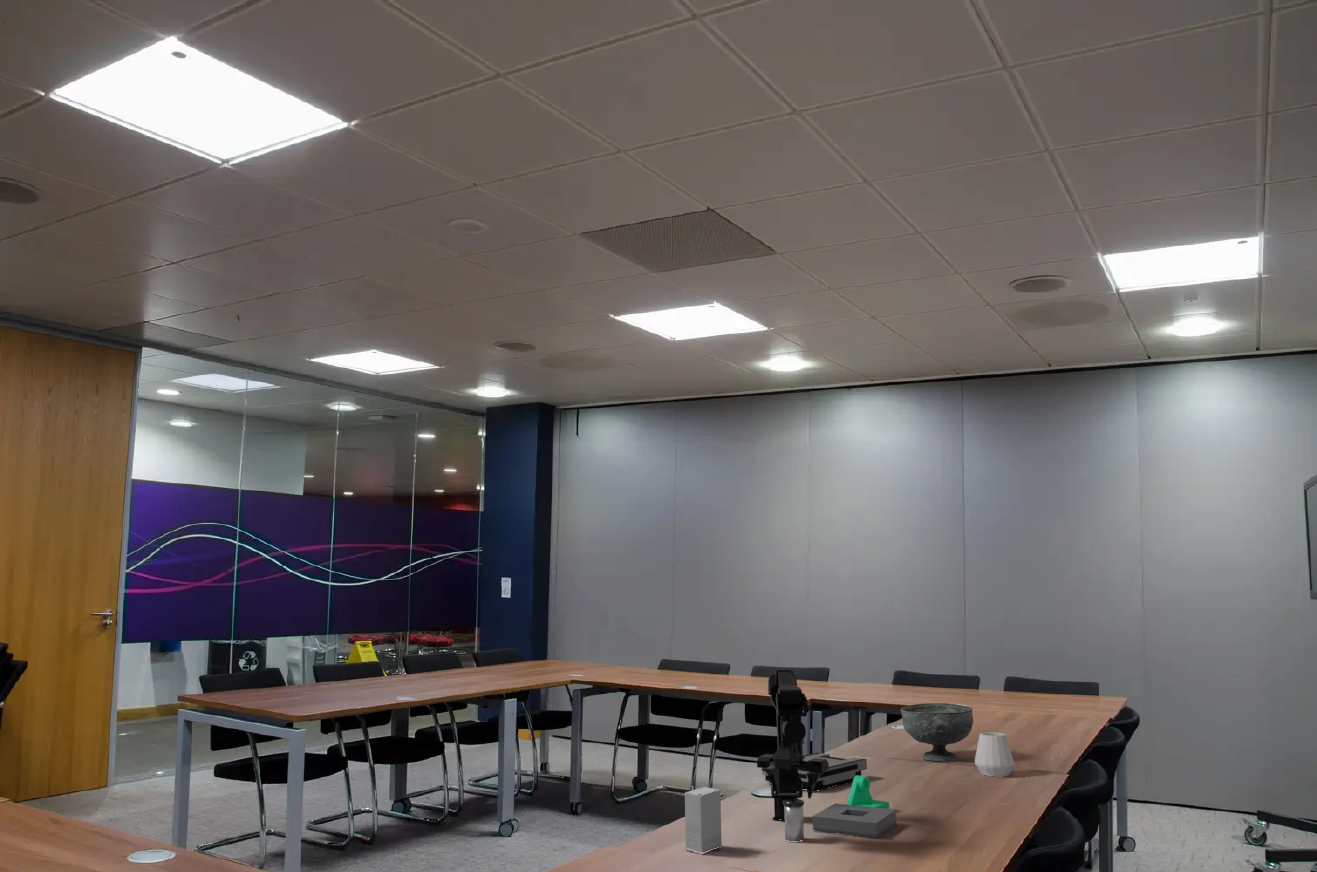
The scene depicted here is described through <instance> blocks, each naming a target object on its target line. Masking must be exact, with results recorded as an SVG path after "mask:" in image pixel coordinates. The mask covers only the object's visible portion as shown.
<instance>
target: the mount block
mask: <svg viewBox="0 0 1317 872" xmlns="http://www.w3.org/2000/svg"><path fill="white" fill-rule="evenodd" d="M896 811H897V810H896V809H892V808H888V809H884V808H874V807H865V806H855V805H847V803H846V804H843V803H833V804H831V805H830V806H827V807H826V808H824V809H823V810H821V811H819V812H818V813H816V814H814V815H812V831H813V830H815V831H820V832H819V833H822V832H827V833H826V834H831V833H839V834H847V835H852V836H851V837H856V836H858V838H864V837H865V839H875V840H877V839H879V838H881V837H882V836H883V835H884V834H886V833H887V832H888V831H890V830H891V829H892V828H894V827H896V825H897V814H896ZM893 826H894V827H893ZM839 834H838V835H839ZM882 834H883V835H882ZM847 835H846V836H847ZM881 835H882V836H881Z"/></svg>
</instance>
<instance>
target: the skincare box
mask: <svg viewBox="0 0 1317 872" xmlns="http://www.w3.org/2000/svg"><path fill="white" fill-rule="evenodd" d="M721 794H722V793H721V789H716V788H713V787H708V786H703V787H700V788H696V789H693V790H690V791H685V792H684V819H685V820H684V822H685V823H684V824H685V825H684V827H685V828H684V829H685V831H684V832H685V833H684V835H685V836H684V837H685V839H684V841H685V849H686V848H690V849H693V850H696V851H699V852H706V851H708V850H711V849H714V848H717V847H722V846H723V845H722V843H723V842H722V809H721V807H722V806H721V803H722V802H721V801H722V800H721V798H722V796H721ZM722 848H723V847H722Z"/></svg>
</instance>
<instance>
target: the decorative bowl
mask: <svg viewBox="0 0 1317 872" xmlns="http://www.w3.org/2000/svg"><path fill="white" fill-rule="evenodd" d="M900 711H901V719H902V722H903V723H902V724H903V725H902V726H903V728H904V730H905V732H906V733H907V734H908V735H910V737H912V738H913V739H914V740H915V741H917V742H919V743H920V744H922V743H923V744H927V745H931V746H932V750H930V751H926V752H923V754H922V758H923V760H924V759H925V761H931V762H932V761H933V762H942V763H943V762H944V763H951V762H952V761H953V762H957V761H958V758H959V757H958V756H957V755H956V754H955V753H953V752H951V751H948V750H947V748H946V747H947V745H951V744H956V743H959V742H961V741H962V740H965V738H967V737H968V736H969V734H970V733H971V731H972V728H973V724H974V717H973V707H969V706H966V705H962V704H956V703H949V702H948V703H947V702H946V703H945V702H926V703H925V702H923V703H918V704H917V703H916V704H910V705H906V706H903V707H901V708H900ZM956 760H957V761H956Z"/></svg>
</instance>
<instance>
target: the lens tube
mask: <svg viewBox="0 0 1317 872" xmlns="http://www.w3.org/2000/svg"><path fill="white" fill-rule="evenodd" d="M783 805H784V814H785V821H784V840H789V841H800V840H804V841H805V828H804V825H805V824H804V822H805V821H804V805H805V800H803V799H801V798H798V799H785V800H783Z"/></svg>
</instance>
